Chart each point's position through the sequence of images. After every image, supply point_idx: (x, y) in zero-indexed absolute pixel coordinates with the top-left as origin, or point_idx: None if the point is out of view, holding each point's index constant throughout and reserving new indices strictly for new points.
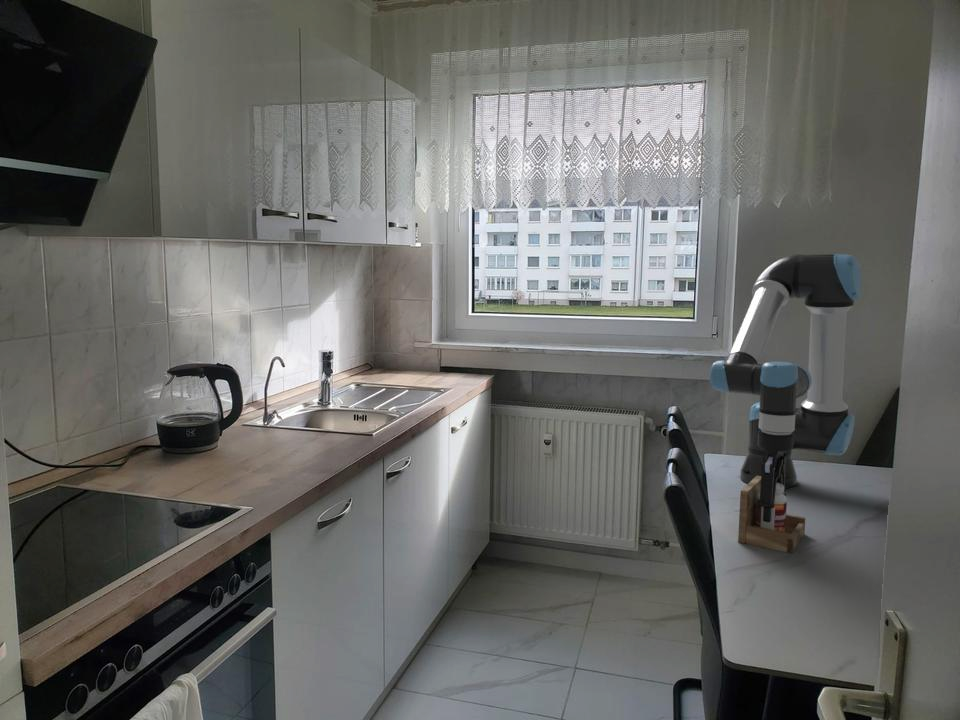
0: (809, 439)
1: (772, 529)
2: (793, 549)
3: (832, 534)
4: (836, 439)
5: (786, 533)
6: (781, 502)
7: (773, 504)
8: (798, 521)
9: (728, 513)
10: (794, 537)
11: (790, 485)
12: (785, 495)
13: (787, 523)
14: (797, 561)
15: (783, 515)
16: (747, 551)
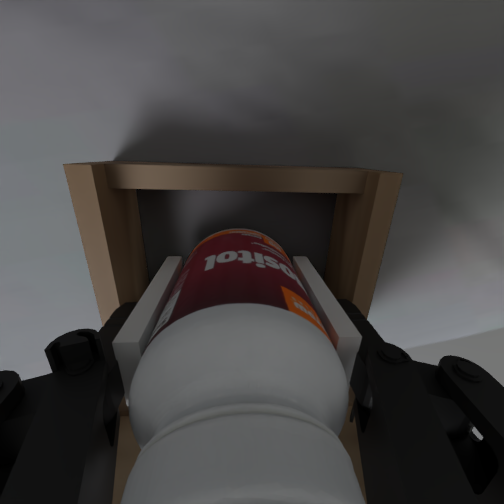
0: None
1: (313, 270)
2: (332, 167)
3: (5, 28)
4: None
5: (383, 206)
6: (314, 332)
7: (396, 363)
8: (108, 194)
9: None
10: (347, 170)
11: None
12: (65, 348)
13: (125, 238)
14: (431, 133)
15: (270, 265)
16: (395, 291)
